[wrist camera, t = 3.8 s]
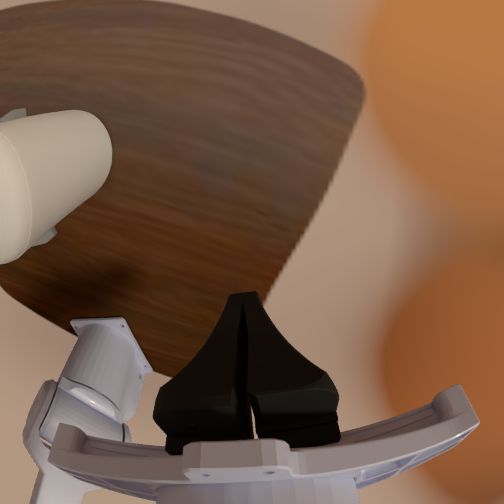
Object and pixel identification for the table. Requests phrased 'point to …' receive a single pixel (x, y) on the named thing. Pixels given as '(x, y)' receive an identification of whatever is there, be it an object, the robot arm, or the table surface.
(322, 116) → the table surface
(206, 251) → the table surface
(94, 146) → the pill bottle
